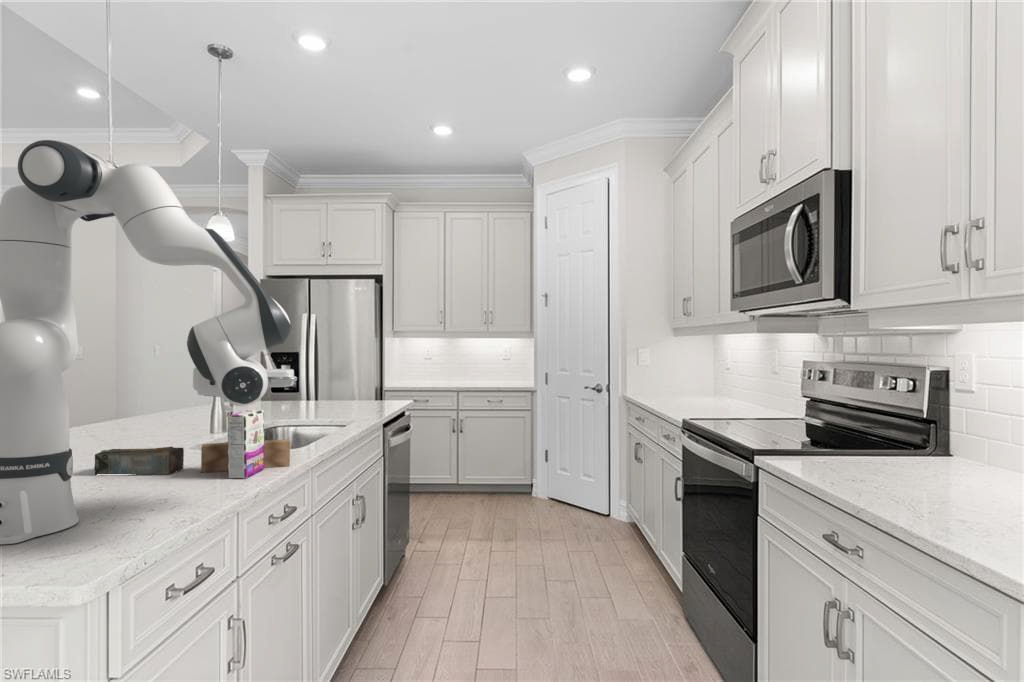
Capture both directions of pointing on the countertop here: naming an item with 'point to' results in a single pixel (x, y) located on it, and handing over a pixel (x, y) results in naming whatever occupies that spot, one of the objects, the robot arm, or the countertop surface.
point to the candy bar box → (245, 444)
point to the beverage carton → (139, 461)
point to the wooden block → (217, 455)
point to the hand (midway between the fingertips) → (245, 375)
